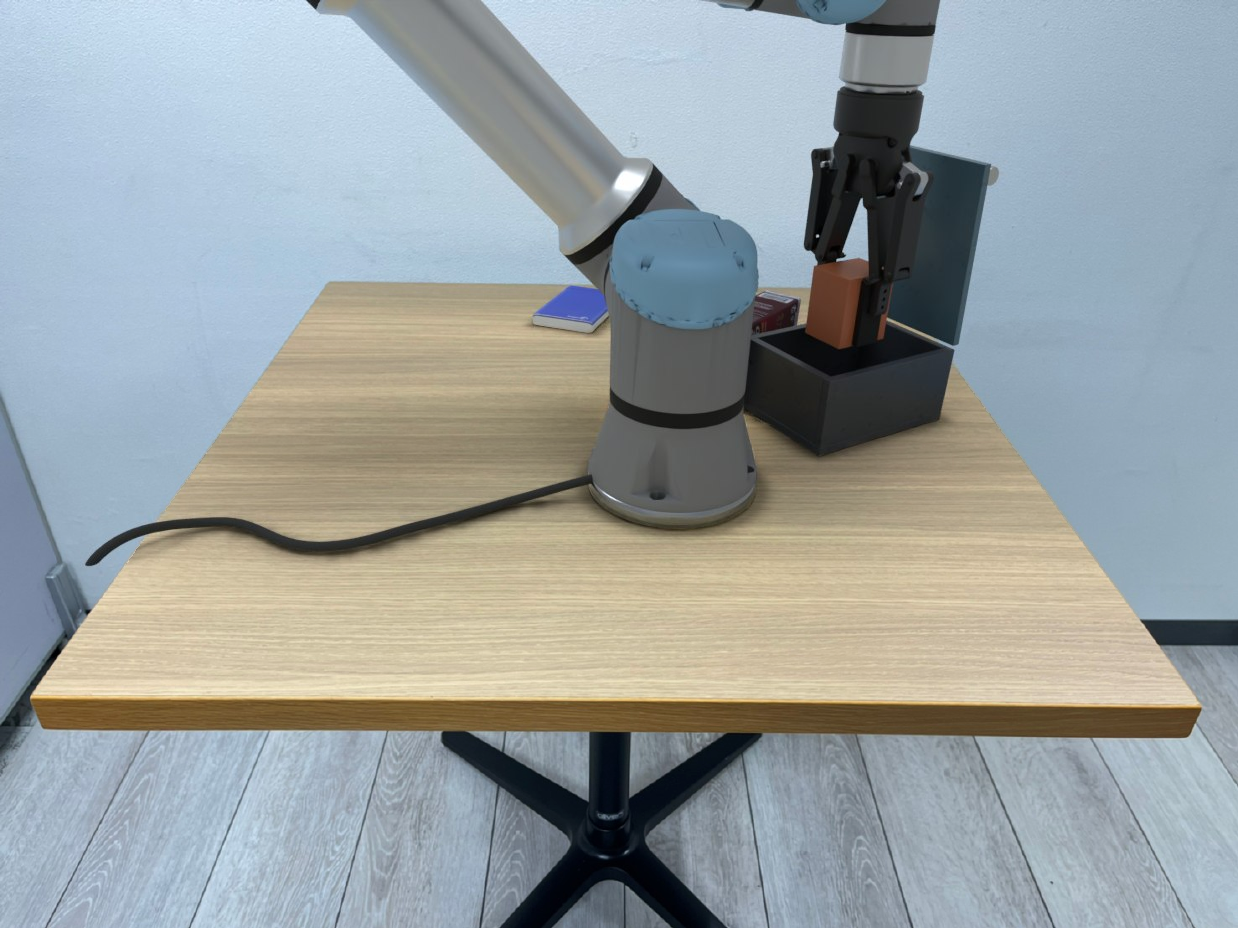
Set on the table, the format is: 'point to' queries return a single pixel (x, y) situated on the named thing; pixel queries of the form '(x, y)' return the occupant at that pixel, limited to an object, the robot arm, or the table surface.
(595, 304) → the blue book
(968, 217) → the box lid
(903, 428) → the black box
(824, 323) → the reddish-orange cube block
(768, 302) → the supplement box
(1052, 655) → the table surface
